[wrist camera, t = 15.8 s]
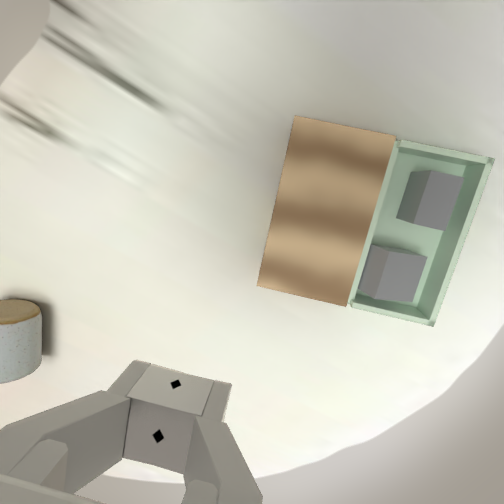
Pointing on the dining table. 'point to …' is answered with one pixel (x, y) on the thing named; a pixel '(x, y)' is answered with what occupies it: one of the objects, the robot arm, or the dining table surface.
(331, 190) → the board
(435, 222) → the tile
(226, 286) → the dining table surface
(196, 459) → the robot arm
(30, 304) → the ceramic mug
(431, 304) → the tray
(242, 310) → the dining table surface
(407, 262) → the tile
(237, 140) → the dining table surface
